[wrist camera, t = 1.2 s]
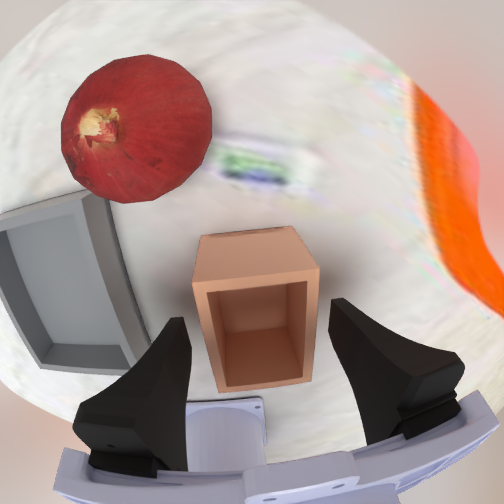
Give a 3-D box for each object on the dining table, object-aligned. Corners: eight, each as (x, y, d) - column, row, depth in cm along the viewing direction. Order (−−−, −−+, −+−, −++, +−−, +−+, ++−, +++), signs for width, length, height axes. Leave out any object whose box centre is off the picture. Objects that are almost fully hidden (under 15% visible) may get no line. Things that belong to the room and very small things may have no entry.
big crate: (151, 344, 18) (143, 376, 15) (54, 343, 18) (40, 368, 15) (105, 185, 13) (80, 198, 11) (1, 213, 13) (-25, 229, 10)
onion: (133, 201, 14) (58, 271, 7) (92, 110, 12) (-12, 108, 4) (232, 154, 13) (241, 183, 6) (190, 57, 11) (153, -15, 4)
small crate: (293, 325, 18) (311, 381, 14) (218, 334, 18) (218, 393, 14) (292, 225, 15) (319, 268, 11) (201, 235, 15) (191, 282, 11)
